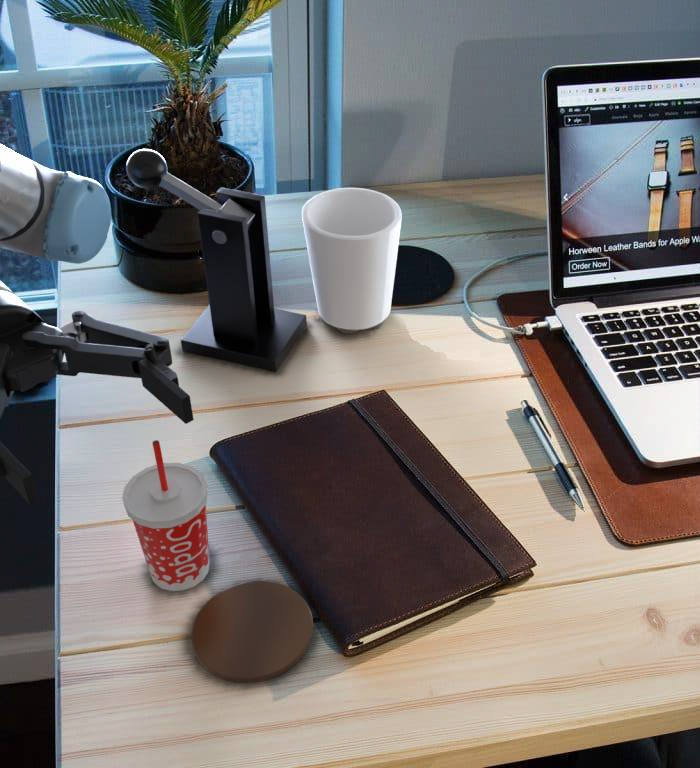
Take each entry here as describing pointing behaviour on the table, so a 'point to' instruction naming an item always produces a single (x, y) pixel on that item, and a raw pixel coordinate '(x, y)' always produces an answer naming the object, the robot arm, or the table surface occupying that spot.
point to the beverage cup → (170, 521)
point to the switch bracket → (240, 291)
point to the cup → (352, 255)
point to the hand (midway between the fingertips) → (113, 448)
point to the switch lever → (175, 183)
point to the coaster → (252, 631)
